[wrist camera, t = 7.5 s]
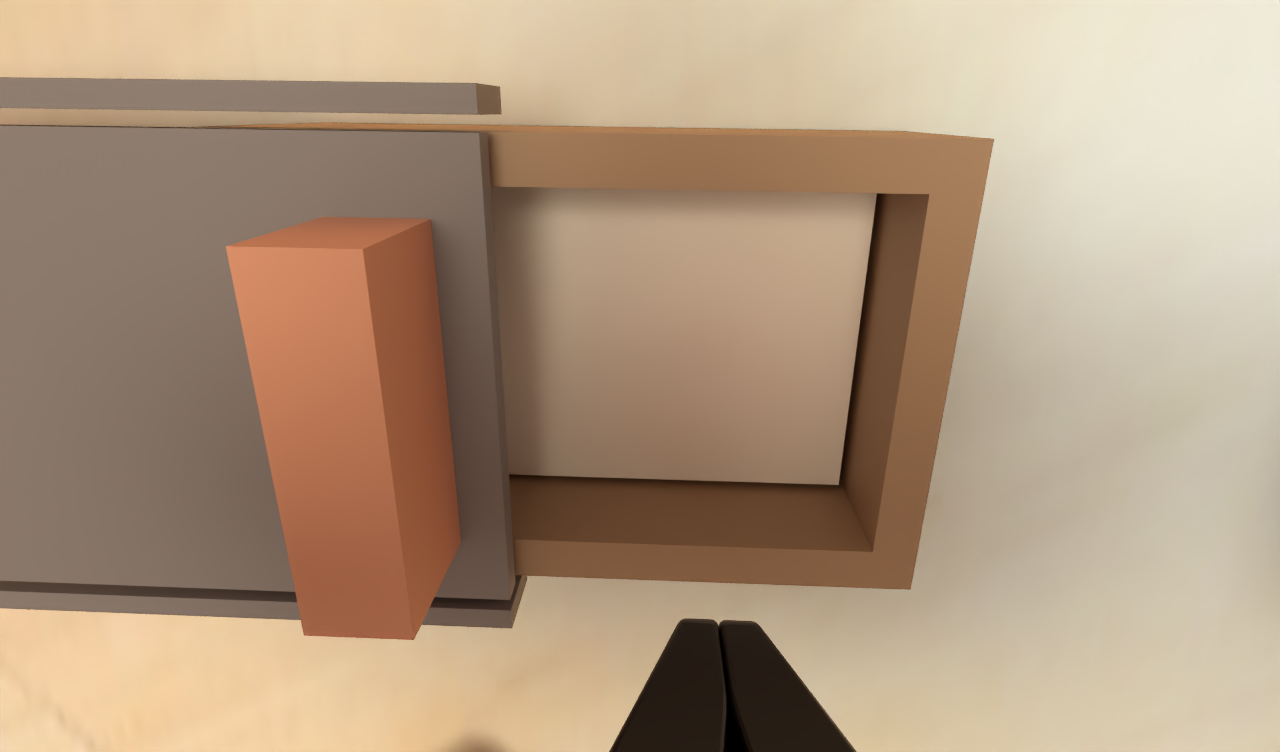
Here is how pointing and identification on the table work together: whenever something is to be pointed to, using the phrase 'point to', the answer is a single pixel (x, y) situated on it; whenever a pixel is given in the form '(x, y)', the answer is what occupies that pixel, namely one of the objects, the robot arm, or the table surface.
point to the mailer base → (880, 375)
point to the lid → (253, 361)
